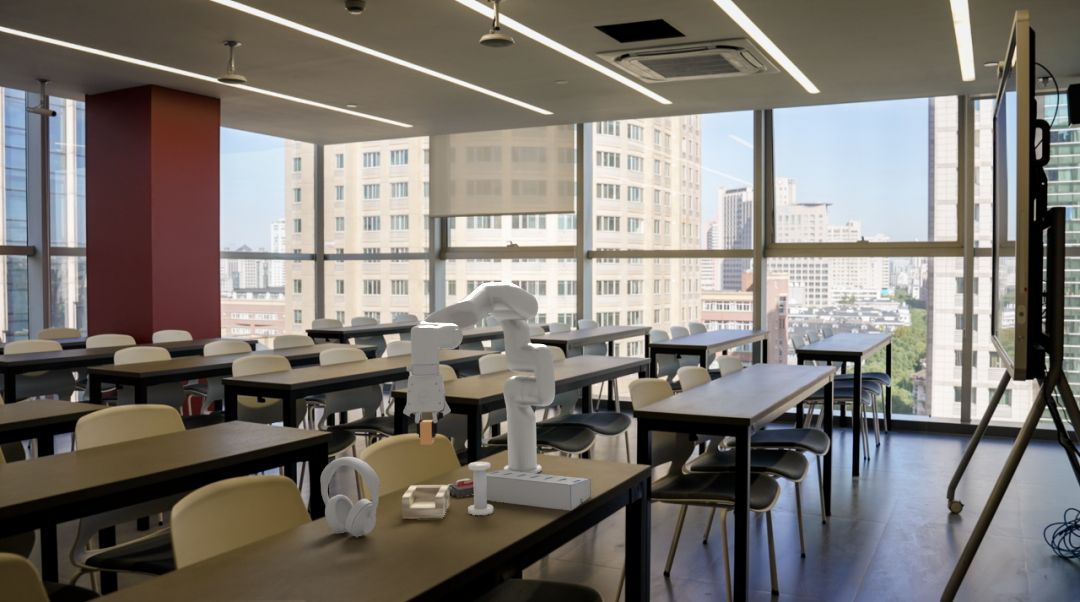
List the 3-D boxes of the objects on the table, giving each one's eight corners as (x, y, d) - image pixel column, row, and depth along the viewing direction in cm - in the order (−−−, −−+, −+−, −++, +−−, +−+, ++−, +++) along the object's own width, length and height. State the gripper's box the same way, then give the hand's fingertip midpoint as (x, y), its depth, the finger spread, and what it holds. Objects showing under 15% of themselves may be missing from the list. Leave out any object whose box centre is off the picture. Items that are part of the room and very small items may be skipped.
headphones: (389, 535, 196) (386, 457, 196) (367, 545, 189) (365, 464, 189) (336, 525, 205) (333, 450, 205) (313, 534, 199) (311, 456, 198)
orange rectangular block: (423, 441, 216) (423, 420, 216) (434, 441, 216) (434, 419, 216) (420, 444, 211) (420, 422, 212) (431, 444, 211) (430, 422, 211)
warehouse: (591, 498, 226) (590, 472, 226) (571, 512, 213) (570, 484, 213) (500, 488, 239) (499, 463, 239) (476, 500, 226) (476, 475, 226)
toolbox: (484, 485, 242) (423, 495, 232) (483, 471, 242) (422, 481, 232) (496, 492, 234) (433, 503, 225) (495, 478, 234) (433, 488, 225)
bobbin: (469, 508, 218) (468, 461, 217) (494, 507, 218) (493, 461, 217) (466, 515, 211) (465, 467, 210) (492, 515, 211) (490, 467, 210)
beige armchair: (411, 506, 221) (410, 485, 221) (449, 505, 221) (449, 484, 220) (402, 519, 209) (401, 497, 209) (443, 519, 209) (442, 496, 208)
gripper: (393, 372, 210) (395, 440, 211) (453, 371, 209) (455, 439, 210) (399, 369, 217) (400, 434, 218) (457, 368, 217) (458, 433, 218)
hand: (427, 436), depth 214 cm, fingers closed on orange rectangular block, 2 cm apart
